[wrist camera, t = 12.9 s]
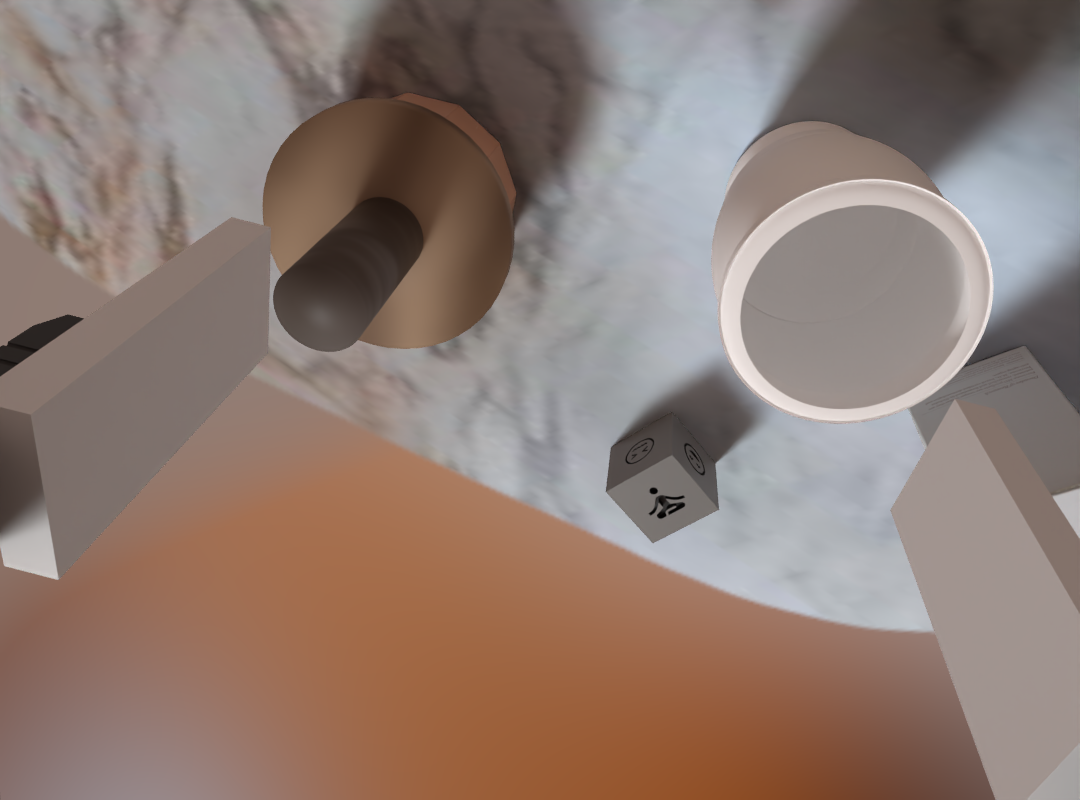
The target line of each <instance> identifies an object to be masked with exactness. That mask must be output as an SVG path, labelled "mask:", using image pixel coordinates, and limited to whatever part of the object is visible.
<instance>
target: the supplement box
mask: <svg viewBox="0 0 1080 800" xmlns="http://www.w3.org/2000/svg"><path fill="white" fill-rule="evenodd" d="M954 399H958V400H962V401H966V402H970V403H974V404H978V405H982V406H986V407H990V408H994V409H996V411H997V412H998V414H999V415H1000V417H1001V418H1002V420H1003V421H1004V423H1005V425H1006V426H1007V428H1008V429H1009V431H1010V432H1011V434H1012V435H1013V437H1014V438H1015V440H1016V441H1017V443H1018V445H1019V446H1020V448H1021V449H1022V451H1023V452H1024V454H1025V455H1026V457H1027V458H1028V460H1029V462H1030V463H1031V465H1032V466H1033V468H1034V469H1035V471H1036V472H1037V474H1038V475H1039V477H1040V478H1041V480H1042V482H1043V483H1044V485H1045V486H1046V488H1047V489H1048V491H1049V492H1050V494H1051V495H1052V497H1053V498H1054V500H1055V502H1056V503H1057V505H1058V506H1059V508H1060V509H1061V511H1062V512H1063V514H1064V515H1065V517H1066V518H1067V520H1068V522H1069V523H1070V525H1071V526H1072V528H1073V529H1074V531H1075V532H1076V534H1077V535H1078V537H1079V538H1080V414H1079V413H1078V412H1077V410H1076V409H1075V408H1074V407H1073V405H1072V404H1071V403H1070V402H1069V400H1068V399H1067V398H1066V397H1065V395H1064V394H1063V393H1062V391H1061V390H1060V389H1059V388H1058V386H1057V385H1056V384H1055V383H1054V381H1053V380H1052V379H1051V378H1050V376H1049V375H1048V374H1047V373H1046V371H1045V370H1044V369H1043V367H1042V366H1041V365H1040V364H1039V362H1038V361H1037V360H1036V359H1035V357H1034V356H1033V355H1032V354H1031V352H1030V351H1029V350H1028V348H1027V347H1026V346H1022V347H1019V348H1016V349H1013V350H1010V351H1007V352H1004V353H1001V354H999V355H996V356H993V357H991V358H988V359H985V360H982V361H979V362H976V363H974V364H971V365H969V366H966V367H963V368H961V369H960V370H959V371H958V372H957V374H956V375H955V376H954V377H953V378H952V379H951V380H949V381H948V382H947V383H946V384H945V385H944V386H943V387H941V388H940V389H939V390H938V391H936V392H935V393H933V394H932V395H931V396H929V397H927V398H926V399H924V400H923V401H921V402H919V403H917V404H916V405H914V406H912V407H910V408H908V410H909V412H910V415H911V417H912V420H913V422H914V424H915V427H916V429H917V432H918V434H919V437H920V439H921V442H922V444H923V446H924V449H925V450H926V448H927V446H928V444H929V443H930V441H931V439H932V437H933V436H934V434H935V432H936V431H937V429H938V427H939V425H940V424H941V422H942V420H943V418H944V417H945V415H946V413H947V412H948V410H949V408H950V406H951V405H952V403H953V401H954Z"/></svg>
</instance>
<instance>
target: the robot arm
mask: <svg viewBox="0 0 1080 800" xmlns="http://www.w3.org/2000/svg"><path fill="white" fill-rule="evenodd" d="M270 245H271V227H268V226H264V225H260V224H256V223H252V222H248V221H244V220H240V219H236V218H232V217H231V218H230V219H228V220H227V221H225V222H224V223H223V224H221V225H220V226H218V227H217V228H215V229H214V230H212V231H211V232H209V233H208V234H207V235H205V236H204V237H202V238H201V239H199V240H198V241H196V242H195V243H193V244H192V245H191V246H189V247H188V248H186V249H185V250H183V251H182V252H180V253H179V254H178V255H176V256H175V257H173V258H172V259H170V260H169V261H167V262H166V263H164V264H163V265H162V266H160V267H159V268H157V269H156V270H154V271H153V272H151V273H150V274H148V275H147V276H146V277H144V278H143V279H141V280H140V281H138V282H137V283H135V284H134V285H132V286H131V287H130V288H128V289H127V290H125V291H124V292H122V293H121V294H119V295H118V296H117V297H115V298H114V299H112V300H111V301H109V302H108V303H106V304H105V305H104V306H102V307H101V308H99V309H98V310H96V311H95V312H93V313H92V314H90V315H89V316H87V317H86V318H85V319H84V318H80V317H76V316H71V315H65V316H62V317H59V318H56V319H53V320H50V321H46V322H43V323H41V324H37V325H34V326H32V327H30V328H29V329H27V330H26V331H24V332H23V333H21V334H20V335H18V336H17V337H15V338H13V339H12V340H10V341H9V342H8V345H7V346H4V345H3V346H1V347H0V548H1V552H2V557H3V562H4V566H6V567H10V568H15V569H18V570H22V571H26V572H30V573H34V574H38V575H41V576H45V577H49V578H53V579H57V580H59V579H60V578H61V577H62V576H63V575H64V574H65V572H66V571H67V570H68V569H69V568H70V567H71V566H72V565H73V564H74V563H75V562H76V561H77V559H78V558H79V557H80V556H81V555H82V554H83V553H84V552H85V551H86V550H87V549H88V548H89V546H90V545H91V544H92V543H93V542H94V541H95V540H96V539H97V538H98V536H100V535H101V533H102V532H103V531H104V530H105V529H106V528H107V527H108V526H109V525H110V524H111V523H112V522H113V520H114V519H115V518H116V517H117V516H118V515H119V514H120V513H121V512H122V511H123V510H124V509H125V507H126V506H127V505H128V504H129V503H130V502H131V501H132V500H133V499H134V498H135V497H136V495H137V494H138V493H139V492H140V491H141V490H142V489H143V488H144V487H145V486H146V485H147V483H148V482H149V481H150V480H151V479H152V478H153V477H154V476H155V475H156V474H157V473H158V472H159V471H160V469H161V468H162V467H163V466H164V465H165V464H166V463H167V462H168V461H169V459H171V457H172V456H173V455H174V454H175V453H176V452H177V451H178V450H179V449H180V448H181V447H182V445H183V444H184V443H185V442H186V441H187V440H188V439H189V438H190V437H191V436H192V435H193V434H194V433H195V431H196V430H197V429H198V428H199V427H200V426H201V425H202V424H203V423H204V422H205V421H206V419H207V418H208V417H209V416H210V415H211V414H212V413H213V412H214V411H215V410H216V409H217V407H218V406H219V405H220V404H221V403H222V402H223V401H224V400H225V399H226V398H227V397H228V396H229V395H230V394H231V392H232V391H233V390H234V389H235V388H236V387H237V386H238V385H239V384H240V382H241V381H242V380H243V379H244V378H245V377H246V376H247V375H248V374H249V373H250V372H251V371H252V370H253V369H254V367H255V366H256V365H257V364H258V363H259V362H260V361H261V360H262V359H263V358H264V357H265V356H266V354H267V353H268V330H269V287H270ZM891 513H892V516H893V519H894V521H895V524H896V527H897V530H898V532H899V535H900V538H901V541H902V543H903V546H904V549H905V552H906V554H907V557H908V560H909V563H910V565H911V568H912V571H913V574H914V576H915V579H916V582H917V585H918V587H919V590H920V593H921V596H922V598H923V601H924V604H925V607H926V609H927V612H928V615H929V618H930V620H931V623H932V626H933V629H934V631H935V634H936V637H937V640H938V642H939V645H940V648H941V650H942V653H943V656H944V659H945V662H946V664H947V667H948V670H949V673H950V675H951V678H952V681H953V684H954V686H955V689H956V692H957V695H958V697H959V700H960V703H961V706H962V708H963V711H964V714H965V717H966V719H967V722H968V725H969V728H970V730H971V733H972V736H973V739H974V741H975V744H976V747H977V750H978V752H979V755H980V758H981V761H982V763H983V766H984V769H985V772H986V774H987V777H988V780H989V783H990V785H991V788H992V791H993V794H994V796H995V799H996V800H1080V538H1079V537H1078V535H1077V534H1076V532H1075V531H1074V529H1073V528H1072V526H1071V525H1070V523H1069V522H1068V520H1067V518H1066V517H1065V515H1064V514H1063V512H1062V511H1061V509H1060V508H1059V506H1058V505H1057V503H1056V502H1055V500H1054V498H1053V497H1052V495H1051V494H1050V492H1049V491H1048V489H1047V488H1046V486H1045V485H1044V483H1043V482H1042V480H1041V478H1040V477H1039V475H1038V474H1037V472H1036V471H1035V469H1034V468H1033V466H1032V465H1031V463H1030V462H1029V460H1028V458H1027V457H1026V455H1025V454H1024V452H1023V451H1022V449H1021V448H1020V446H1019V445H1018V443H1017V441H1016V440H1015V438H1014V437H1013V435H1012V434H1011V432H1010V431H1009V429H1008V428H1007V426H1006V425H1005V423H1004V421H1003V420H1002V418H1001V417H1000V415H999V414H998V412H997V411H996V409H994V408H990V407H986V406H982V405H978V404H974V403H970V402H966V401H962V400H958V399H954V401H953V403H952V405H951V406H950V408H949V410H948V412H947V413H946V415H945V417H944V418H943V420H942V422H941V424H940V425H939V427H938V429H937V431H936V432H935V434H934V436H933V437H932V439H931V441H930V443H929V444H928V446H927V448H926V450H925V451H924V453H923V455H922V457H921V458H920V460H919V462H918V463H917V465H916V467H915V469H914V470H913V472H912V474H911V476H910V477H909V479H908V481H907V482H906V484H905V486H904V488H903V489H902V491H901V493H900V495H899V496H898V498H897V500H896V502H895V503H894V505H893V507H892V508H891Z"/></svg>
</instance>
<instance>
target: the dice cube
mask: <svg viewBox="0 0 1080 800" xmlns="http://www.w3.org/2000/svg"><path fill="white" fill-rule="evenodd" d="M606 492H607V494H608V495H609V496H610V497H611V498H612V499H613V500H614V501H615V502H616V503H617V504H618V506H619V507H620V508H621V509H622V510H623V511H624V512H625V513H626V514H627V515H628V517H629V518H630V519H631V520H632V521H633V522H634V523H635V524H636V525H637V526H638V527H639V529H640V530H641V531H642V532H643V533H644V534H645V535H646V536H647V537H648V538H649V539H650V541H651V542H652V543H654V542H656V541H658V540H660V539H662V538H664V537H666V536H668V535H670V534H672V533H674V532H676V531H678V530H680V529H682V528H684V527H686V526H688V525H690V524H692V523H694V522H696V521H697V520H699V519H701V518H703V517H705V516H707V515H709V514H711V513H713V512H715V511H717V510H719V504H718V492H717V479H716V467H715V463H714V461H713V460H712V459H711V458H710V457H709V455H708V454H707V453H706V452H705V451H704V449H703V448H702V447H701V446H700V445H699V443H698V442H697V441H696V440H695V439H694V437H693V436H692V435H691V434H690V433H689V431H688V430H687V429H686V428H685V427H684V425H683V424H682V423H681V422H680V421H679V419H678V418H677V417H676V416H675V415H674V413H673V412H671V413H669V414H667V415H665V416H664V417H662V418H660V419H659V420H657V421H655V422H653V423H652V424H650V425H648V426H647V427H645V428H643V429H642V430H640V431H638V432H636V433H635V434H633V435H631V436H630V437H628V438H626V439H624V440H623V441H621V442H619V443H618V444H616V445H614V446H613V447H611V451H610V460H609V469H608V478H607V487H606Z"/></svg>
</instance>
